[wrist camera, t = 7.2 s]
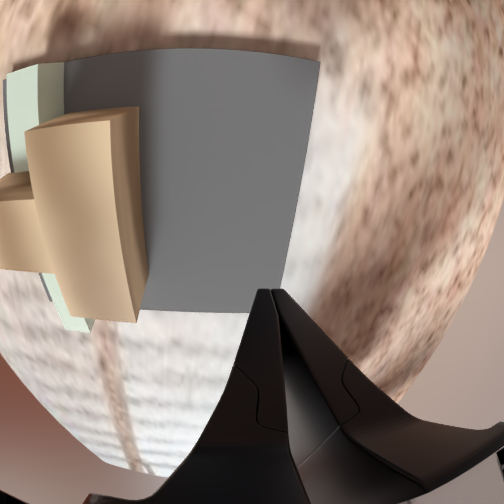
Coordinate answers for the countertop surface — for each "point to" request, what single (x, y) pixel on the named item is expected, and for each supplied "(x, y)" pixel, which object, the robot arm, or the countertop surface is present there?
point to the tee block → (80, 212)
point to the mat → (207, 164)
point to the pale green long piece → (20, 120)
